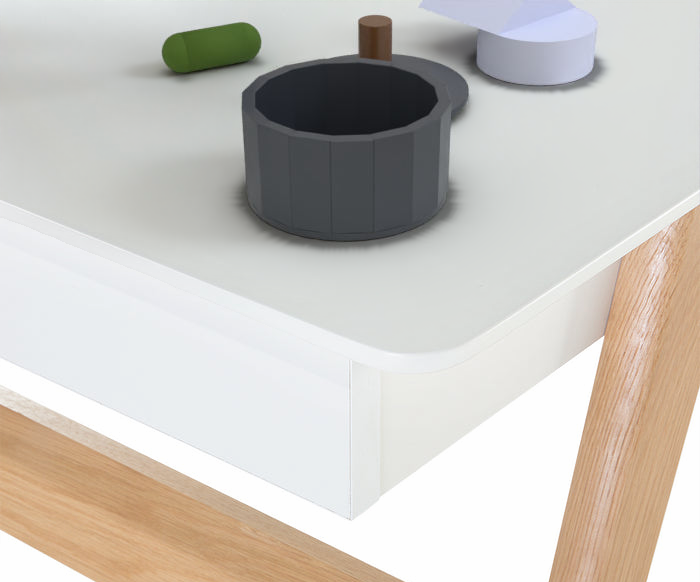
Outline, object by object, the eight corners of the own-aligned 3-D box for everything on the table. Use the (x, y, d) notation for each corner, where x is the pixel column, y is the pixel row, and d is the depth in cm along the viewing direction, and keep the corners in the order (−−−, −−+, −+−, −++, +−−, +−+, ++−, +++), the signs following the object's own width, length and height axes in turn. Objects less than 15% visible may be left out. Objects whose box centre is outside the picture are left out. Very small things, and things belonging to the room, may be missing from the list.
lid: (330, 156, 83) (328, 69, 79) (253, 86, 93) (249, 6, 89) (503, 118, 88) (509, 35, 84) (412, 55, 98) (414, -22, 94)
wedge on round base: (417, 48, 99) (539, 95, 91) (418, -36, 95) (546, 5, 87) (494, 21, 104) (616, 63, 96) (498, -60, 100) (627, -23, 92)
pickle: (171, 81, 94) (167, 43, 92) (158, 68, 96) (154, 30, 94) (268, 63, 97) (266, 26, 95) (253, 50, 99) (251, 14, 97)
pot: (296, 259, 71) (292, 157, 68) (218, 172, 81) (211, 78, 77) (483, 213, 76) (489, 114, 72) (389, 135, 85) (390, 45, 82)
